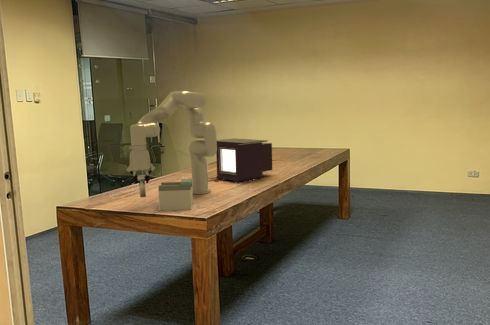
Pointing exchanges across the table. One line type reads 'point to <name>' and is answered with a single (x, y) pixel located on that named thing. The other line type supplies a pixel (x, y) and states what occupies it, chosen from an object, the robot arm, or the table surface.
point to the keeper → (185, 181)
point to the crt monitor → (243, 159)
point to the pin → (142, 185)
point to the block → (175, 196)
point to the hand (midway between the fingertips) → (141, 182)
